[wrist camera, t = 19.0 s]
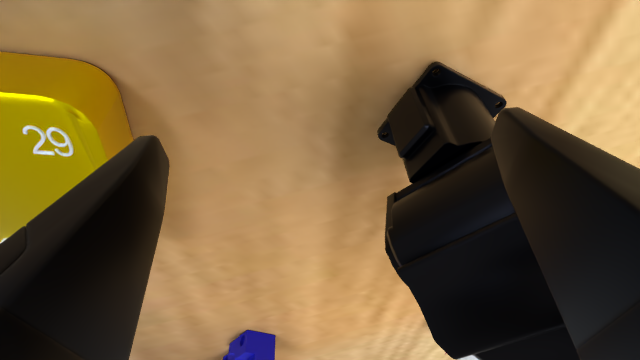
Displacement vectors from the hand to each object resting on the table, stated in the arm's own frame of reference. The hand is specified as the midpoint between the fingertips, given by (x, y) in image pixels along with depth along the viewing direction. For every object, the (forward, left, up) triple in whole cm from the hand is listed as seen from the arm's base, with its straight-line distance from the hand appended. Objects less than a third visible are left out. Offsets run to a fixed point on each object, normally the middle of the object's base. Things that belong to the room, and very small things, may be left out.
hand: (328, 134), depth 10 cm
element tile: (+13, +19, -13) cm, 27 cm away
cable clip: (-14, +51, -13) cm, 54 cm away
